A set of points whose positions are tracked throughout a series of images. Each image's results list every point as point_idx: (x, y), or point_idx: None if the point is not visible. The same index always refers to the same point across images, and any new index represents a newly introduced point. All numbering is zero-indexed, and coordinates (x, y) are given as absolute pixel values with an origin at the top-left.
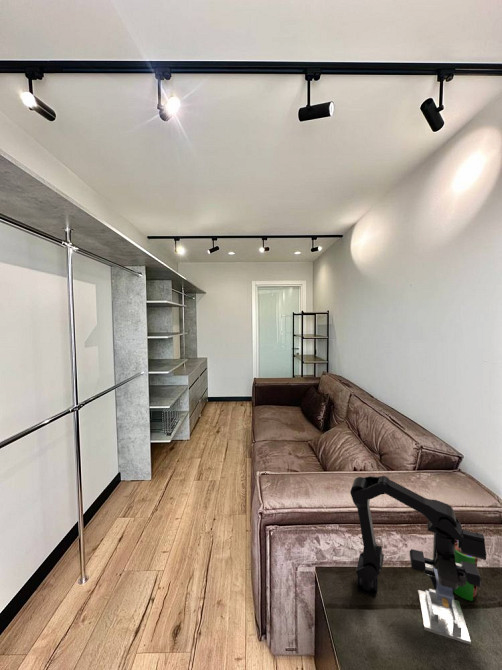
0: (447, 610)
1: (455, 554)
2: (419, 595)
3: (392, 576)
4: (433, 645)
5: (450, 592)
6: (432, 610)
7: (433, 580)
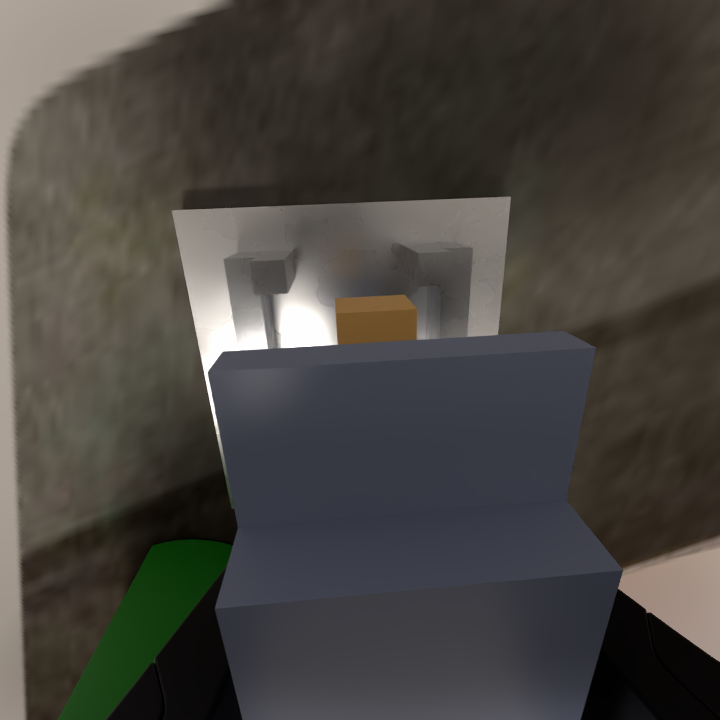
0: None
1: None
2: None
3: (612, 519)
4: (459, 78)
5: (286, 498)
6: (443, 336)
7: (643, 644)
